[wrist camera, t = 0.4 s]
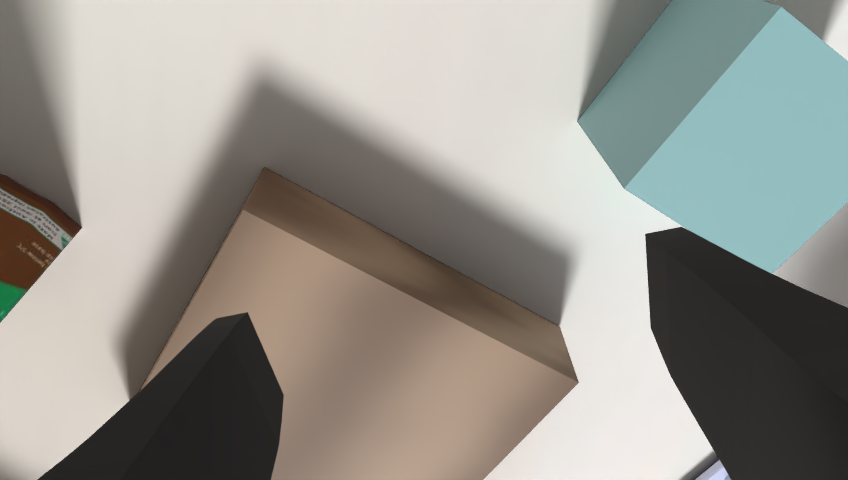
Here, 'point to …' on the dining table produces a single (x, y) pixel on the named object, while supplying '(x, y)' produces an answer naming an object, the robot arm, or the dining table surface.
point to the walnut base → (375, 345)
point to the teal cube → (730, 126)
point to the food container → (27, 239)
